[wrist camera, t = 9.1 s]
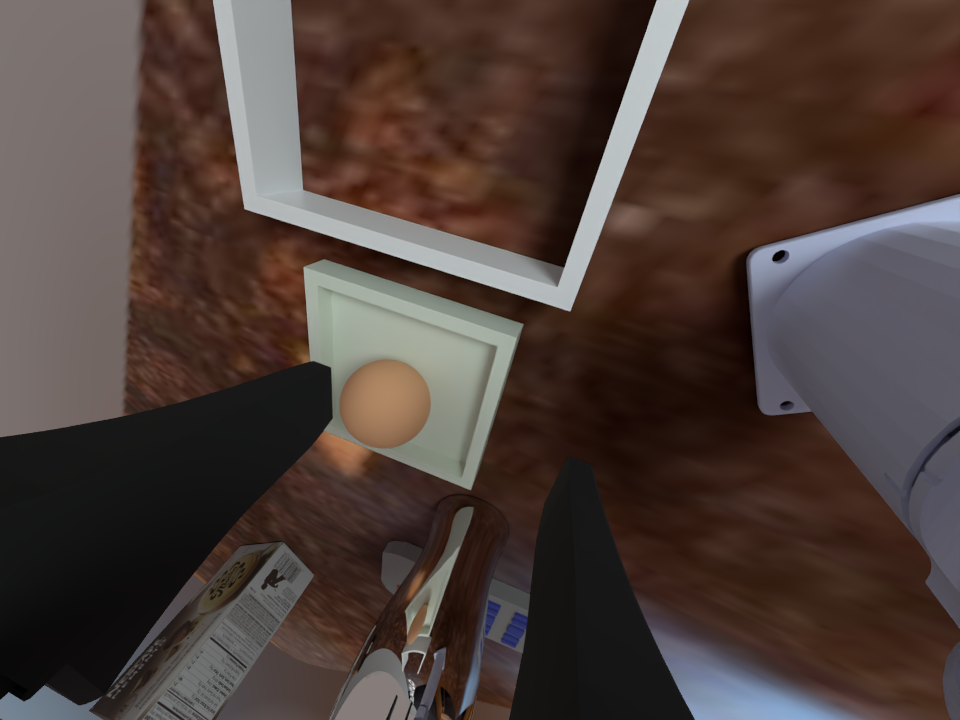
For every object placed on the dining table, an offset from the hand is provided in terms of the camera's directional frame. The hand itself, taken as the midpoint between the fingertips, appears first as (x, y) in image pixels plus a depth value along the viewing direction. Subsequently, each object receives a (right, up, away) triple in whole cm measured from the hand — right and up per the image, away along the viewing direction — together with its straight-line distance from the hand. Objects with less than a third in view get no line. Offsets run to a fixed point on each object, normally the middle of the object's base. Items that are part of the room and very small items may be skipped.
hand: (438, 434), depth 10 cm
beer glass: (+1, -11, +18) cm, 21 cm away
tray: (-3, +1, +12) cm, 13 cm away
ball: (-4, +1, +12) cm, 13 cm away
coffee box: (-23, -22, +33) cm, 46 cm away
